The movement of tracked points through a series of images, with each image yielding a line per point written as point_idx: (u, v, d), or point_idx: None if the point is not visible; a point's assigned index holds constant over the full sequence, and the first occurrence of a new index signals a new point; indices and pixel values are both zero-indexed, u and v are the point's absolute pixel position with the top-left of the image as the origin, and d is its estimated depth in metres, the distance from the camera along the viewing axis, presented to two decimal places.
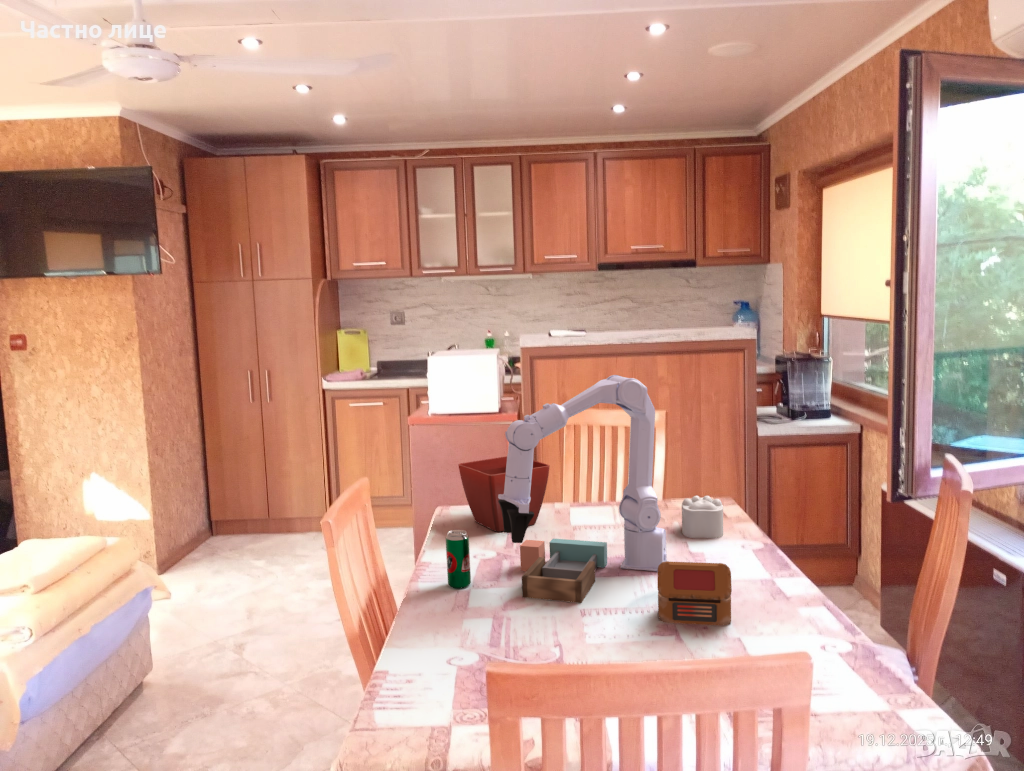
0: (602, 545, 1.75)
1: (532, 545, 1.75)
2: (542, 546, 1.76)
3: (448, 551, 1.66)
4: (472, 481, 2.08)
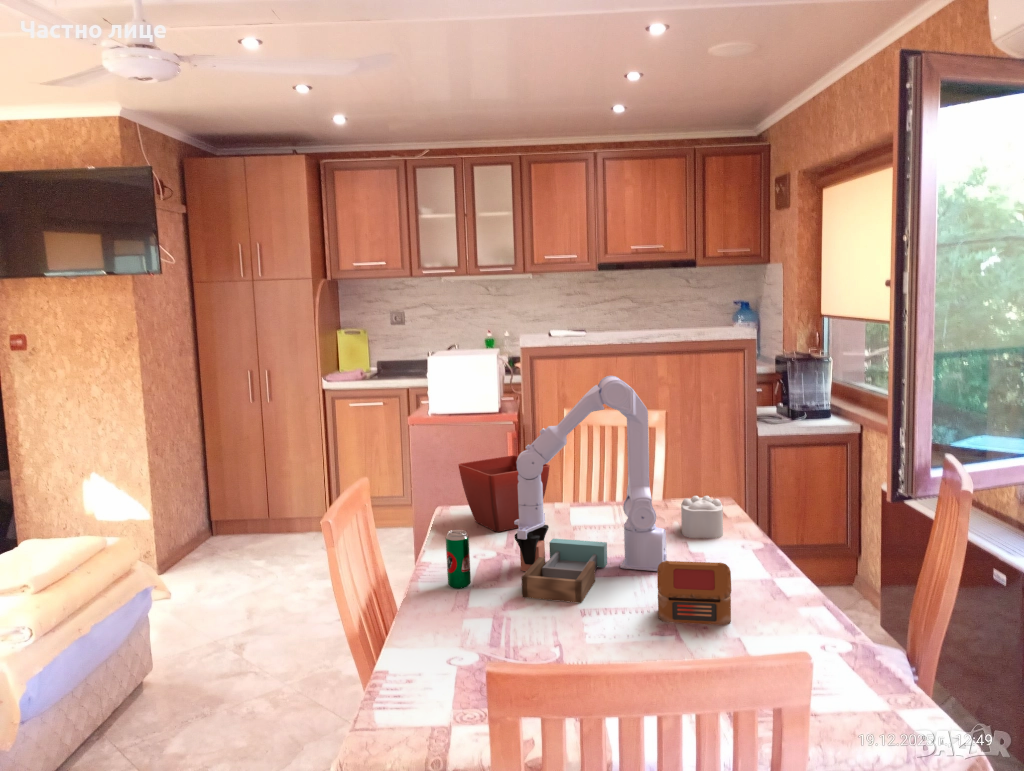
0: (602, 545, 1.75)
1: None
2: (542, 546, 1.76)
3: (448, 551, 1.66)
4: (472, 481, 2.08)
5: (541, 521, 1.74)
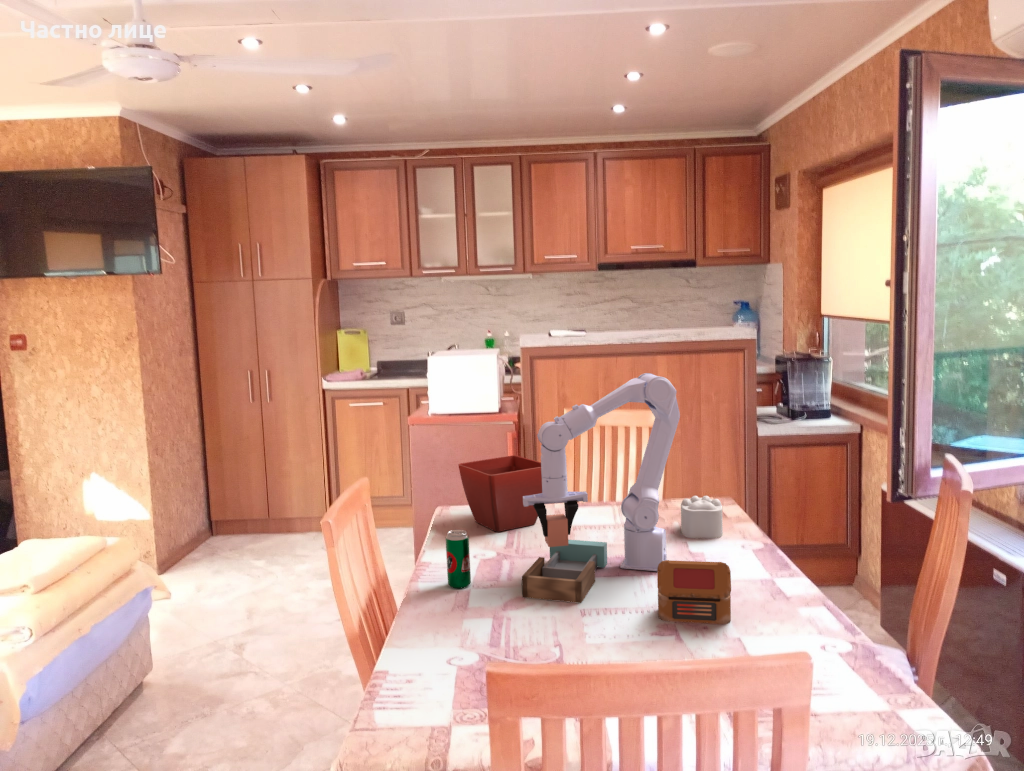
0: (602, 545, 1.75)
1: (548, 518, 1.72)
2: (560, 523, 1.71)
3: (448, 551, 1.66)
4: (472, 481, 2.08)
5: (553, 496, 1.69)
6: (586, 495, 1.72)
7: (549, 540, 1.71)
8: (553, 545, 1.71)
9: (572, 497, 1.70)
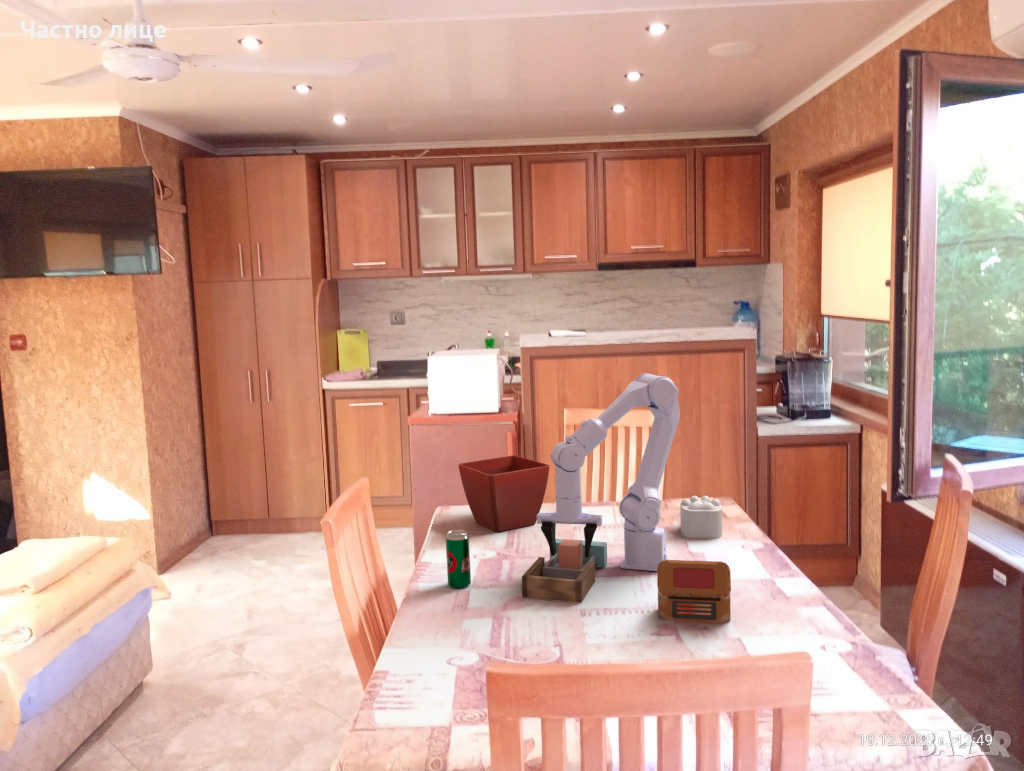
0: (602, 544, 1.75)
1: (562, 543, 1.72)
2: (570, 549, 1.69)
3: (448, 551, 1.66)
4: (472, 481, 2.08)
5: (563, 516, 1.68)
6: (599, 519, 1.68)
7: (559, 564, 1.71)
8: None
9: (583, 520, 1.68)
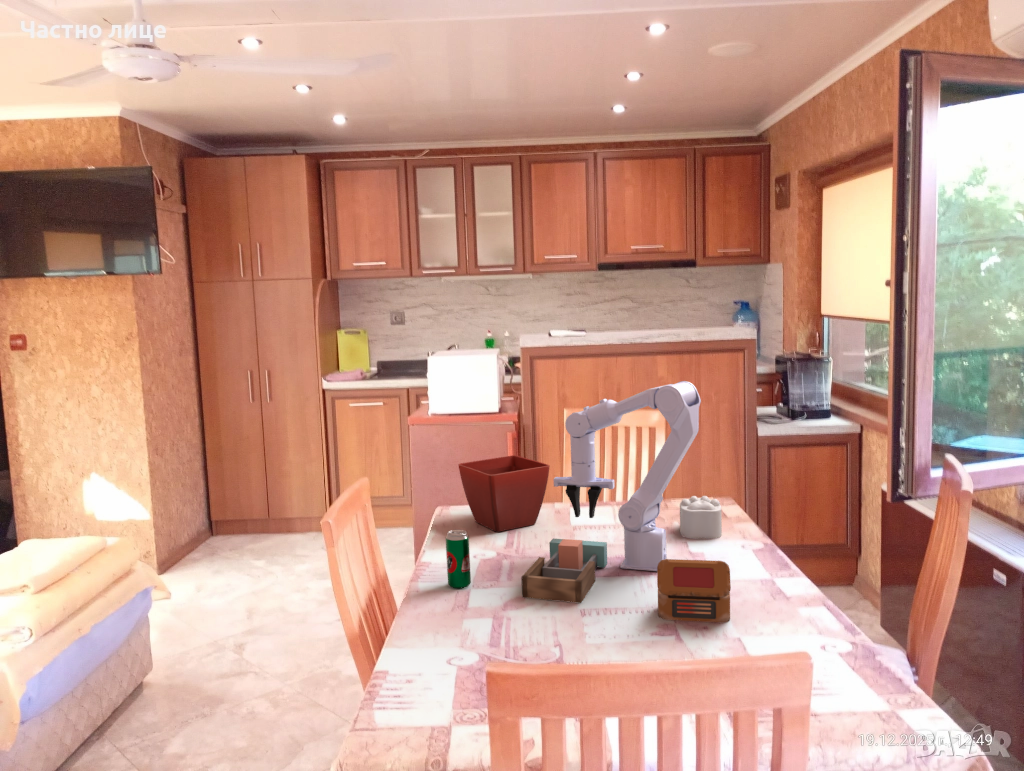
0: (602, 544, 1.75)
1: (562, 543, 1.72)
2: (570, 549, 1.69)
3: (448, 551, 1.66)
4: (472, 481, 2.08)
5: (577, 479, 1.81)
6: (611, 483, 1.80)
7: (559, 564, 1.71)
8: None
9: (596, 483, 1.80)
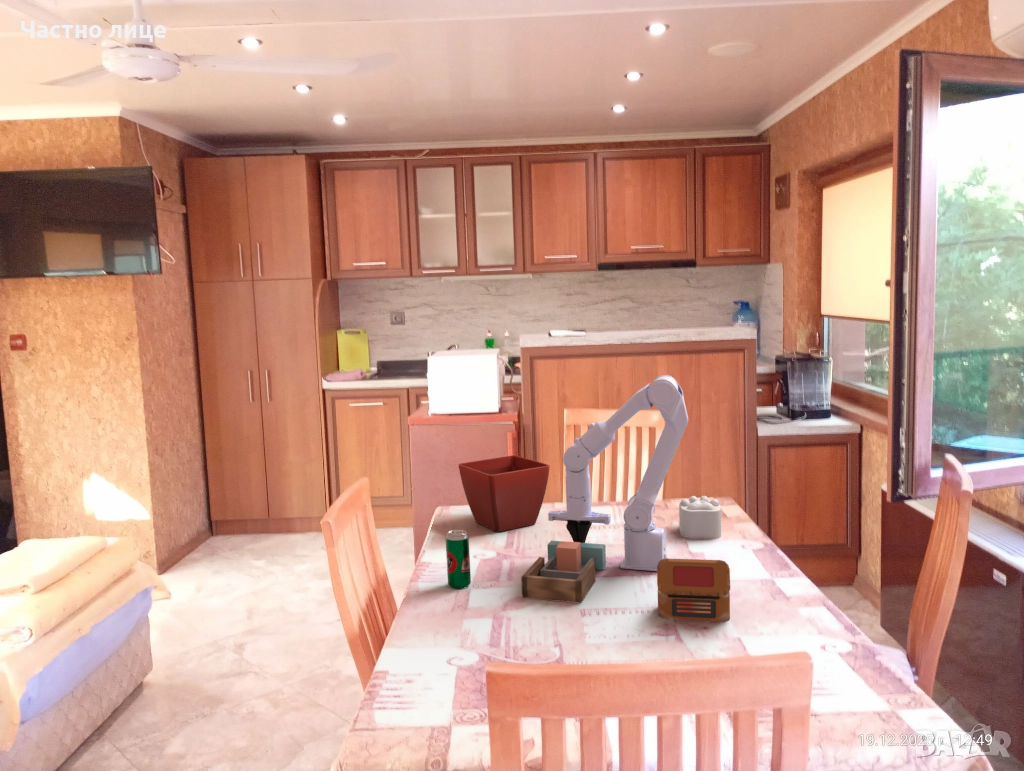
0: (601, 547, 1.74)
1: (560, 545, 1.70)
2: (569, 551, 1.68)
3: (448, 551, 1.66)
4: (472, 481, 2.08)
5: (572, 514, 1.77)
6: (607, 518, 1.76)
7: (557, 567, 1.69)
8: None
9: (592, 518, 1.76)
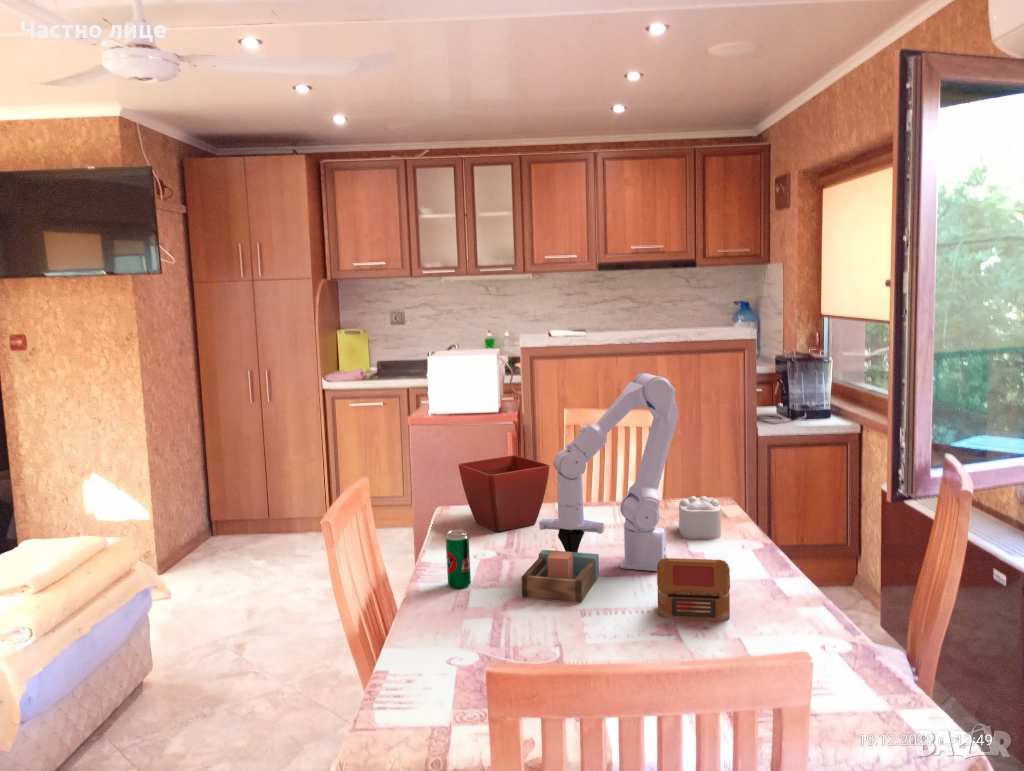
0: (594, 556, 1.68)
1: (551, 555, 1.64)
2: (560, 562, 1.62)
3: (448, 551, 1.66)
4: (472, 481, 2.08)
5: (564, 523, 1.70)
6: (600, 527, 1.69)
7: None
8: None
9: (584, 527, 1.69)
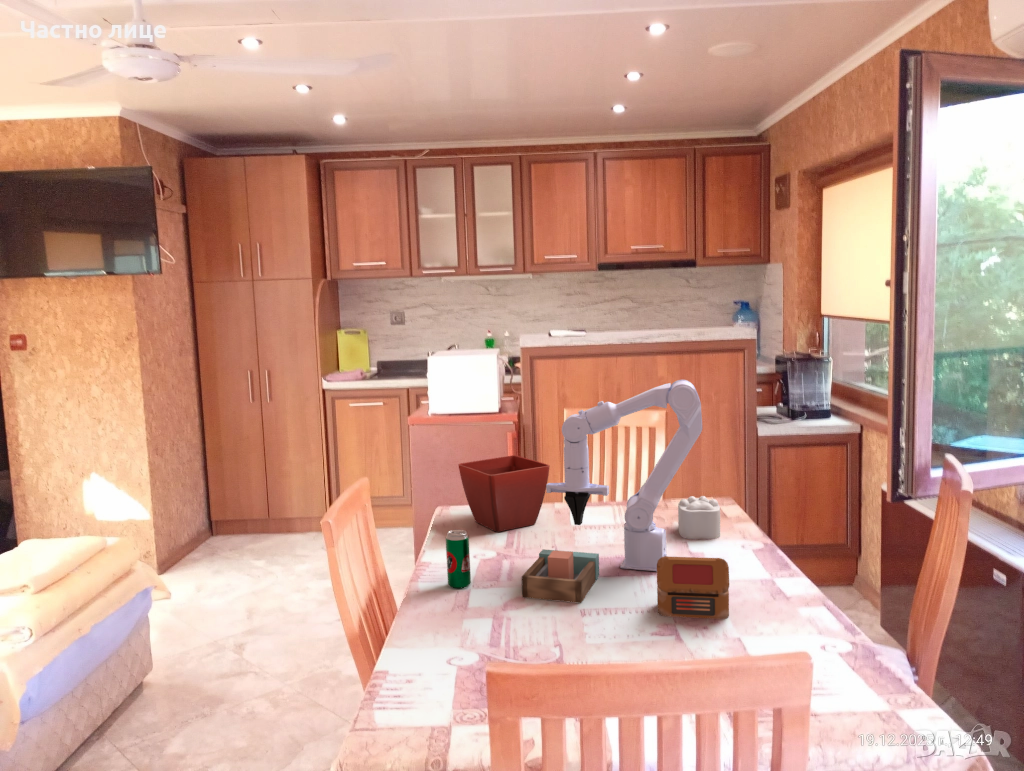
0: (594, 556, 1.68)
1: (552, 554, 1.64)
2: (560, 561, 1.62)
3: (448, 551, 1.66)
4: (472, 481, 2.08)
5: (570, 486, 1.75)
6: (605, 489, 1.74)
7: None
8: None
9: (590, 489, 1.74)
